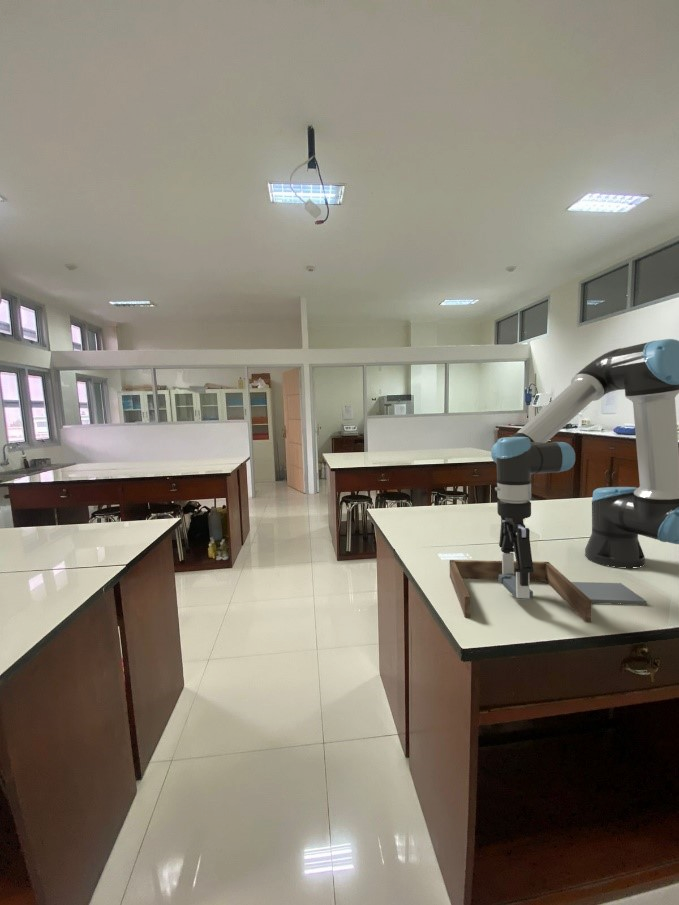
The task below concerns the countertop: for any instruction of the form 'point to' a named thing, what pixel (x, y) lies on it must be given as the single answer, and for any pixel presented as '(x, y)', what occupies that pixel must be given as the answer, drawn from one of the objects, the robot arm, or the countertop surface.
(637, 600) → the slate mat
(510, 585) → the bracket
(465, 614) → the u-shaped wooden frame
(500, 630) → the countertop surface
